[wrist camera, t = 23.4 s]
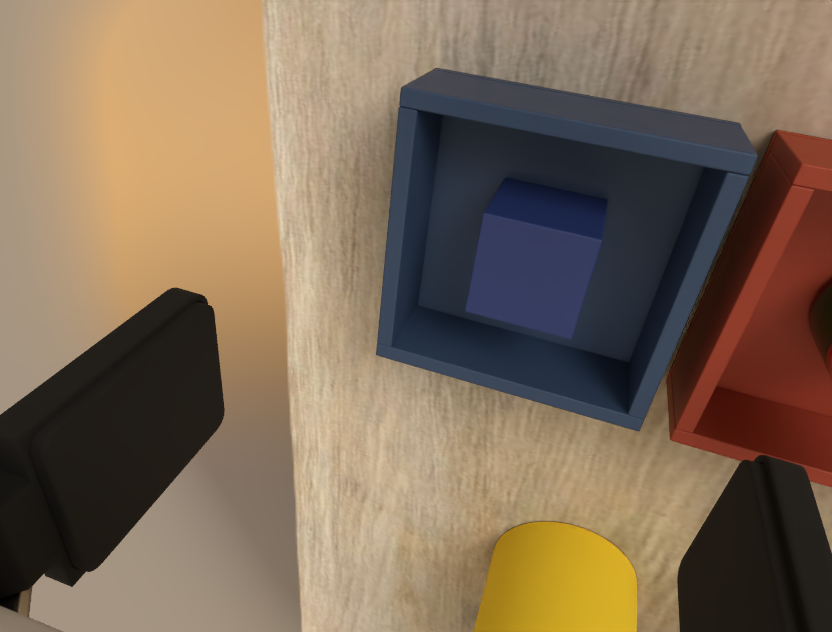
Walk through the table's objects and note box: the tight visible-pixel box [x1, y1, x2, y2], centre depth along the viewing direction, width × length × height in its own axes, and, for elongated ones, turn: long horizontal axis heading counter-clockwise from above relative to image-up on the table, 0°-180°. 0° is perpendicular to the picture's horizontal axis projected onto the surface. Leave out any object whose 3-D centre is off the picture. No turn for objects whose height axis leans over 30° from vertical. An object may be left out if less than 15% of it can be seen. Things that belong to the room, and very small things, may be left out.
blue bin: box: [376, 68, 758, 431], centre depth 28 cm, size 14×14×5 cm
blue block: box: [465, 178, 608, 339], centre depth 28 cm, size 5×5×5 cm
